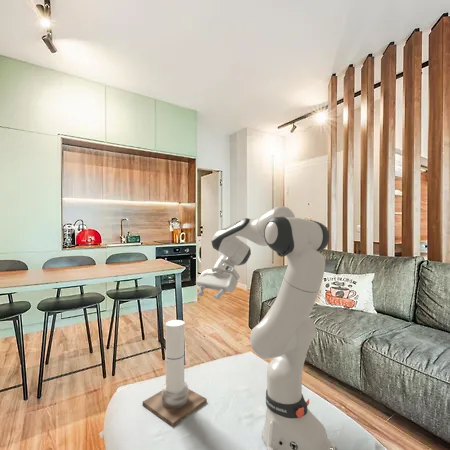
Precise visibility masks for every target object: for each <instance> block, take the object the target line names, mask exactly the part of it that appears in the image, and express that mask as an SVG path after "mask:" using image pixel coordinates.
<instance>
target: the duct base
mask: <svg viewBox="0 0 450 450" xmlns="http://www.w3.org/2000/svg"><path fill="white" fill-rule="evenodd" d="M188 385H189V384H188V383H187V382H186V381H184V389H183V390H182V391H180V392H177V393H170V392H168V391H166V382H165V383H164V384H163V385H162V387H161V391H158V392H157V393H155V394H154V395H152V396H150V397H148V398H147V399H144V400H143V401H142V406H144V407H145V408H146V409H147V410H149V411H150V412H152V413H153V414H155V415H156V416H157V417H159V418H160V419H162V421H164V422H166V423H167V424H169V425H170V426H171V427H174V426H176V425H177V424H178V423H179V422H180V423H181V421H183V420H184V419H185V418H186V417H188V416H190V414H192V413H194V411H196V410H197V409H199V408H200V407H202V406H203V405H204V404H206V403H207V401H208V399H207V397H204V396H203V395H201V394H199V393H197V392H195V391H193V390H191V389H189V386H188Z"/></svg>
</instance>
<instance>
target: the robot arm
mask: <svg viewBox="0 0 450 450" xmlns="http://www.w3.org/2000/svg"><path fill="white" fill-rule="evenodd" d="M238 237H242V238H244V239H247V240H248V241H250V242H253V244H256V245H257V246H262V247H266V246H267V247H269V248H270V249H271V250H272V251H275V252H276V254H277V256H279V257H281V258H282V257H283V258H284V257H286V258H287V267H286V269H285V273H284V276H283V278H282V282H281V285H280V288H279V290H278V293H277V295H276V298H275V300H274V302H273V303H272V304H271V307H270V308H269V309H268V311H267V313H266V314H265V315H264V317H263V318H262V319H261V320H260V321H259V323H258V324H256V325H255V326H254V327H253V328H252V329H251V331H250V335H249V342H250V346H251V349H252V350H253V352H254V353H255V354H256V356H258V357H259V358H261V359H263V360H264V359H265V360H268V359H271V360H270V361H269V363H268V365H267V371H266V383H267V384H266V385H267V387H266V388H267V389H266V391H265V406H266V411H265V412H266V413H265V414H266V415H265V420H264V425H263V430H262V431H261V432H262V439H263V442H264V444H265V445H266V450H332V449H330V448H333V450H336V446H335V442H333V441H332V440H331V439H329V438H328V434H327V430H326V428H325V426H324V424H323V423H322V422H321V421H320V420H319V419H318V418H317V417H316V415H314V414H313V412H312V411H311V410H310V409H309V408H308V406H309V404H310V399H309V398H308V399H307V401H306V400H305V397H304V394H303V391H302V390H303V370H304V366H305V361H306V357H307V354H308V350H309V348H310V345H311V343H312V341H313V340H314V338H315V336H316V333H317V332H316V331H317V330H316V329H317V327H316V325H315V322H314V321H313V319H312V318H311V317H310V314H311V312H313V310H314V306H315V304H316V300H317V297H318V294H319V292H320V289H321V286H322V283H323V279H324V275H325V268H326V258H325V256H324V255H323V254H322V253H321V251H323V250H325V249H326V248H327V246H328V244H329V242H330V233H329V230H328V228H327V226H326V225H324V224H323V223H321V222H319V221H316V220H311V219H304V218H301V217H295V214H294V212H293V210H292V209H290V208H289V207H287V206H284V205H279V206H276V207H273V208H272V209H269V210H268V211H266V212H265V213H264V214H262V215H260V216H259V217H257V218H256V217H255V218H242V219H240V220H237V221H236V222H234V223H233V224H232V223H231V225H229V226H227V227H225V228H221V229H219V230H217V231H216V232H215V233H214V235H213V236H212V238H211V245H212V249H214V250H216V251H217V252H219V253H220V255H219V258H218V259H217V260H216V262H215V263H214V265H213V267H212V269H209V268H208V269H205V270H203V271H202V272H201V274H200V275H199V276H198V277H197V278H196V281H195V284H196V285H197V286H198V288H199V291H198V292H197V295H198V297H199V296H200V297H203V296H204V294H205V293H204V290H205V289H207V290H215V291H218V293H217V292H216V293H215V294H214V299H215V300H220V298H221V297H222V296H223V295H224V294H226V293H233V292H234V291H235V290H236V287H237V285H238V280H239V279H240V274H239V273H238V271H237V270H236V269H235V267H237V266H243V265H245V264H246V263H247V262H248V260H249V259H250V257H251V255H252V254H251V251H252V250H251V247H250V246H249V245H247V244H246V243H245V242H244V241H242V240H241V239H239V238H238Z"/></svg>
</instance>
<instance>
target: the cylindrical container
mask: <svg viewBox="0 0 450 450" xmlns="http://www.w3.org/2000/svg"><path fill="white" fill-rule="evenodd" d="M184 382H185V321H184V320H181V319H171V320H169V321H167V322H165V383H166V391H168V392H170V393H177V392H180V391H182V390H183V389H184Z"/></svg>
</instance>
